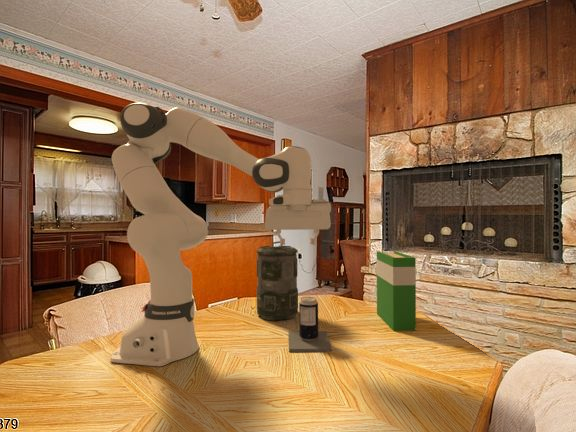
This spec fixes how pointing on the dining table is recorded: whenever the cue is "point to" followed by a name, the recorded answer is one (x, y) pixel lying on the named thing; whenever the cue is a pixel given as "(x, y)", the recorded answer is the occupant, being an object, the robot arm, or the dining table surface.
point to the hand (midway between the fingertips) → (297, 244)
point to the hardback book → (396, 290)
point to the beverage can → (308, 318)
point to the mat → (308, 343)
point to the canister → (277, 282)
